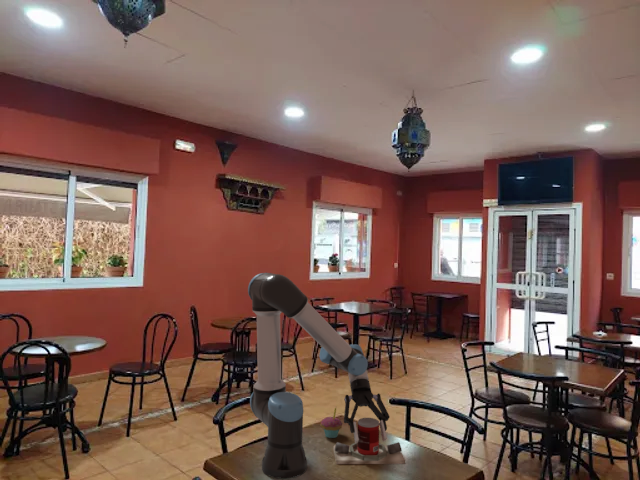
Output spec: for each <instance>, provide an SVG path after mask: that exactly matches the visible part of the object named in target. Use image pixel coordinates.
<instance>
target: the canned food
mask: <svg viewBox="0 0 640 480" xmlns="http://www.w3.org/2000/svg"><path fill="white" fill-rule="evenodd" d="M379 423H380V420H379V419H376V418H373V417H362V418H360V419H358V420H357V432H358V438H359V441H358V453H360V454H362V455H377V454H378V452H379V443H380V426H379Z"/></svg>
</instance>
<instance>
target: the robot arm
mask: <svg viewBox="0 0 640 480" xmlns="http://www.w3.org/2000/svg"><path fill="white" fill-rule="evenodd" d="M247 293H248V297H249V298H250V300H251V305H252V308H251V310H252V312H253V313H254V314H255V315H256V347H257V348H256V350H257V352H256V353H257V355H256V356H257V359H256V360H257V361H256V363H257V381H256V382H255V383H254V384H253V392H252V393H251V395H250V398H249V406H250V409H251V411H252V413H253V415H254V416H255V417H256V418H257V419H258V420H260V421H261V422H262V423H263V424H264V425H265V426H266V427H267V445H266V448H265V452H264V456H263V457H262V461H261V471H262V472H263V473H264V474H265V475H267V476H269V477H271V478H274V479H275V478H276V479H292V478H297V477H299V476H301V475H303V474H304V473H305V472H306V471H307V469H308V460H307V456H306V453H305V450H304V446H303V432H304V431H303V426H304V424H303V423H304V403H303V400H302V398H301V397H300V395H297V394H295V393H291V392H288V391H286V390H287V389H286V386H287V385H286V382H285V381H284V380H283V379H282V352H281V351H282V348H281V346H282V345H281V344H282V343H281V341H282V340H281V339H282V338H281V314H282V313H283V314H284V315H285V317H287V318H288V319H293V320H294V322H296V323H297V324H298V325H299V326H300V327H301V328H302V329H303V330H304V331H305V333H308V335H310V337H311V338H312V339H313V340H314V341H315V342H316V343H318V345H320V346H321V348H320V351H319V355H318V356H319V360H320V361H321V362H322V363H324V364H326V365H331V366H334V367H335V368H338V369H341V370H343V371H344V372H347V374H348V380H349V384H350V385H349V386H350V392H351V395H349V394H345V396H344V402H345V405H344V406H345V407H344V413H343V423H344V424H348V426H349V432H350V433H351V434H353V439H354V443H358V441H359V438H358V426H357V421H354V419H355V417H356V414H357V410H358V408H359V407H360V408H361V407H368V408H369V409H370V410H371V412H372V413H373V414H374V415H375V417H376V418H377V420H378V421H379V431H380V433H381V434H380V435H381V438H382V442H386V440H387V429H388V426H387V423H386V422H387V421H388V420H389V419H390V415H389V413H388V411H387V408H386V407H385V404H384V402H383V401H382V397H381V394H380V393H377V394H374V393H373V392H372V389H371V384H370V380H369V375H368V364H369V362H368V359H367V358H366V357H365V355H364V352H363V348H362V347H361V345H359V344H352V343H351V344H349V343H348V342H347V341H346V340H345V339H344V338H343V337H342V336H341V334H339V333H338V332H337V331H336V329H334V328H333V327H332V325H330V323H329V322H328V321H327V320H326V319H325V318H324V317H323V316H322V315H321V314H320V313H319V312H318V310H316V309H315V308H314V307H313V306H312V304H311V303H310V302H309V298H308V297H307V295H306V294H305V293H303V291H302V290H301V289H300V288H299V287H298V285H296V284H295V283H294V282H293V281H292V280H291V279H290V278H289V277H287V276H285V275H283V274H280V273H279V274H278V273H277V274H276V273H272V272H262V273H258V274H256V275H255V276H253V277H252V278H251V280H250V281H249V283H248V287H247ZM373 399H374V400H373ZM351 400H352V401H353V402H354V407H353V410H352V413H351V416H350V418H349V415H350V414H349V413H350V403H351V402H352V401H351ZM374 401H375V402H376V404H377V405H376V404H375V402H374Z"/></svg>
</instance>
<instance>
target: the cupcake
mask: <svg viewBox="0 0 640 480" xmlns="http://www.w3.org/2000/svg"><path fill="white" fill-rule="evenodd" d="M336 413H337V407H334V411H333V416H327V417H325V418H322V420H321V421H320V427H321V428H322V429H323V431H324V435H325V437H326V438H329V439H335V438H337V437H338V435H339V432H340V430H341V429H342V427H343V422H342V421H341V419H339V418H338V417H336Z"/></svg>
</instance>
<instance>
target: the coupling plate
mask: <svg viewBox="0 0 640 480" xmlns="http://www.w3.org/2000/svg"><path fill="white" fill-rule="evenodd" d="M402 452H403V450H402V446H401V443H400V442H399V441H397V442H395V443H391V444H385V445H384V444H382V443H380V442H379V452H378V454H377V455H362V454H360V453H358V443H355V442H354V443H351V444H345V443H341V442H338V441H337V442H336V443H335V444H334V445H333V455H334V459H335V463H336V465H382V464H383V465H398V464H399V465H400V464H401V465H403V464H404V465H406V459H405V456H404V455H403V453H402Z"/></svg>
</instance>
